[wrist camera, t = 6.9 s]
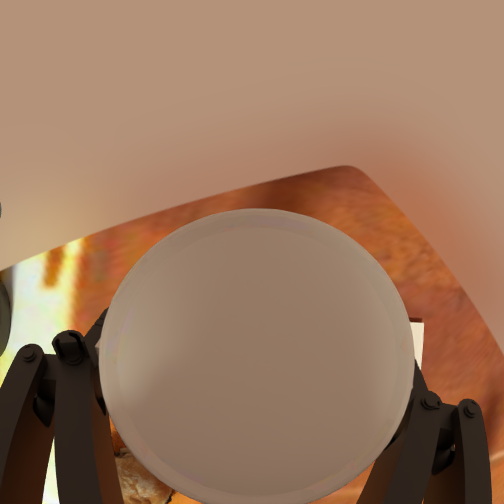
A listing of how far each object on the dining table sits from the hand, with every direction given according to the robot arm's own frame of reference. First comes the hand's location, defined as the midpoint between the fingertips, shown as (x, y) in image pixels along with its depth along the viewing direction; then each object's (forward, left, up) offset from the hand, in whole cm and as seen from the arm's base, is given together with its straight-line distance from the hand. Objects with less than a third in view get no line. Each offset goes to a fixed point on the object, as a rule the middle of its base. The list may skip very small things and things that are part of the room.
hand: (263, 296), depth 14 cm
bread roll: (-12, -23, -19) cm, 32 cm away
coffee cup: (0, -3, -5) cm, 6 cm away
